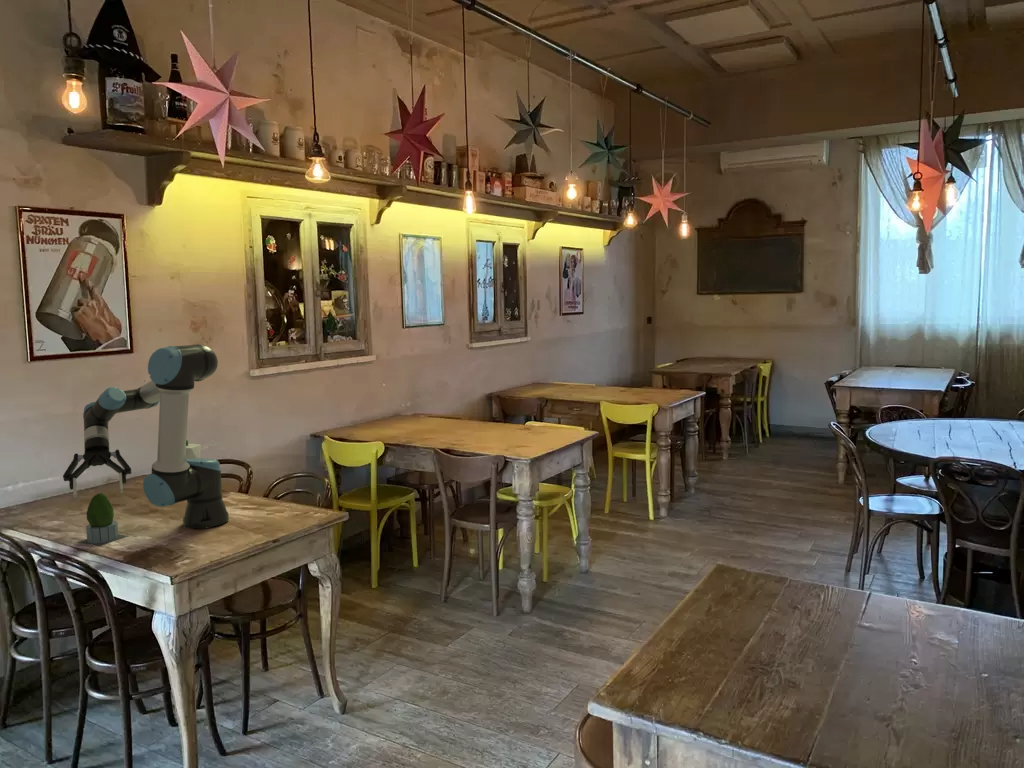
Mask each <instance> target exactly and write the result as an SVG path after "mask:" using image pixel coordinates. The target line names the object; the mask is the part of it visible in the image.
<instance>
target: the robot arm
mask: <svg viewBox="0 0 1024 768" xmlns="http://www.w3.org/2000/svg"><path fill="white" fill-rule="evenodd" d="M218 364H219V362H218V357H217V354H216V353H215V352H214V351H213V349H212V348H210V347H208V346H207V345H203V344H190V345H174V346H172V345H169V346H165V347H161V348H158V349H156V350H155V351H154V352H153V353H152V354H151V355H150V357H149V359H148V362H147V372H148V373H147V374H148V375H149V378H150V381H148V382H147V383H145V384H143V385H141V386H139V387H138V388H135V389H127V390H122V389H121V388H119V387H115V386H111V387H110V386H109V387H107V388H106V389H105V390H104V391H103V392H101V394H99V397H98V398H97V399H96V400H95V401H93V402H89V403H88V404H86V405H85V406H84V407H83V413H82V415H83V418H82V419H83V439H84V440H83V441H84V442H83V444H84V447H83V448H84V453H83V454H79V453H74V455H73V459H72V460H71V463H70V464H69V465H68V467H67V469H66V470H65V472H64V473H63V474H62V478H63V481H64V482H69V483H68V484H69V489H70V490H73V493H72V494H73V499H74V500H77V499H78V487H77V486H78V481H77V479H78V478H79V477H80V476H81V475H82V474H83V473H84V472H85V471H86V470H87V469H89V468H90V467H91V466H92V467H97V466H104V465H106V466H107V467H110V469H112V470H113V471H114V472H116V473H118V474H119V475H118V476H119V491H120V494H124V487H123V486H124V484H127V475H131V474H132V468H131V466H130V465H129V464H128V463H127V461H126V460H125V458H124V457H123V456H122V455H121V453H120V450H119V449H115V451H110V441H109V440H110V437H109V436H110V435H109V422H110V421H111V420H112V419H113V417H114V416H115V415H116V414H118V413H119V414H121V413H126V412H127V413H128V412H131V411H137V410H144V409H151V408H154V407H157V406H158V405H159V411H158V412H159V414H158V437H157V456H156V458H157V459H156V460H155V462H154V463H153V464H152V465H151V473H150V474H147V475H146V476H145V477H143V480H142V490H143V493H144V495H145V497H146V499H147V500H148V501H149V502H150V503H151V504H152V505H153V506H155V507H157V508H158V507H159V508H162V507H163V508H165V507H167V506H168V507H169V506H173V505H175V504H178V503H181V502H184V501H186V507H185V512H184V516H183V518H182V525H183V527H184V528H188V529H194V528H204V529H207V528H206V527H211V528H213V527H212V526H216V525H219V526H221V525H220V524H222V525H224V524H223V523H225V522H227V521H228V520H229V521H230V517H229V511H228V510H227V508H226V505H225V503H224V500H223V491H222V490H223V489H222V488H223V487H222V470H221V464H220V462H219V460H218V459H214V458H204V457H203V458H202V457H200V458H196V459H187V460H185V455H186V440H187V434H188V433H187V432H188V414H189V396H190V393H191V392H192V391H193V390H194V389H195V382H202V381H204V380H206V379H207V378H209V377H211V376H213V375H214V374H215V372H216V371H217V368H218ZM111 457H113V458H114V459H116V460H117V462H118V463H119V464H120V465H119V464H118V463H116V462H115V461H113V460H112V459H111ZM82 460H84V461H83V462H82V463H81V464H80V465H79V466H78V464H79V463H80V462H81V461H82ZM77 466H78V467H77ZM229 521H228V522H229ZM228 522H227V523H228ZM225 524H226V523H225ZM216 527H217V526H216Z"/></svg>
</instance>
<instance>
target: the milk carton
mask: <svg viewBox="0 0 1024 768" xmlns="http://www.w3.org/2000/svg"><path fill="white" fill-rule="evenodd" d="M201 448H202V444H198V443H189V440H187V439H186V455H185V460H187V459H196V458H201Z"/></svg>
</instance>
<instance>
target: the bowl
mask: <svg viewBox="0 0 1024 768" xmlns="http://www.w3.org/2000/svg"><path fill="white" fill-rule="evenodd" d="M118 525H119V524H118V521H116V520H113V521H112V523H111V524H110V525H108V526H104V527H92V526H91V525H90V524H89V523H88V524H87V525H86V526H85V532H86V533H85V534H86V539H87V542H88V543H92V544H97V543H105V542H110V541H113V540H115V539H117V538H118V534H119V527H118ZM113 542H114V541H113Z"/></svg>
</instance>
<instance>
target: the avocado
mask: <svg viewBox="0 0 1024 768" xmlns="http://www.w3.org/2000/svg"><path fill="white" fill-rule="evenodd" d="M114 517H115V512H114V507H113V506H112V503H111V502H110V500H109V499H108V497H107V495H106V494H104V493H97V494H94V496H93V497H92V498H91V500H90V502H89V504H88V507H87V510H86V520H87V522H88V524H90V525H91V526H92V527H104V526H108V525H110V524H111V523H112V521H114Z"/></svg>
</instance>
